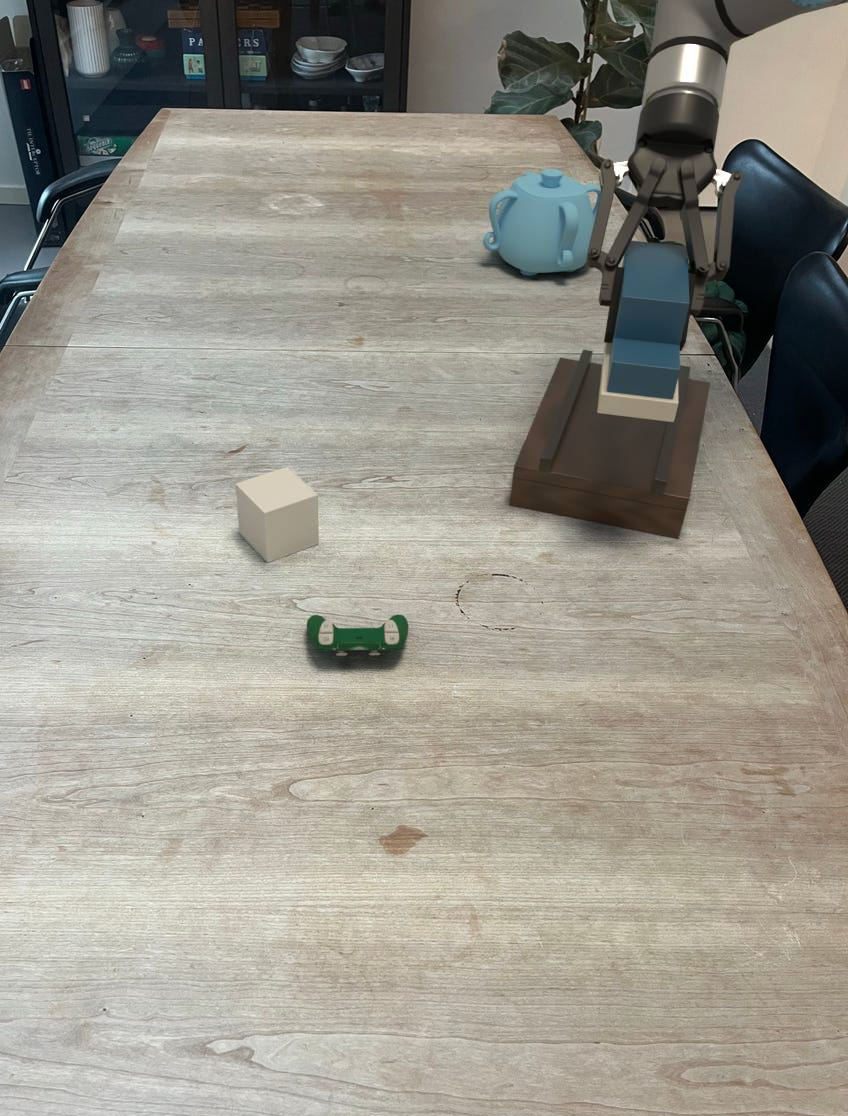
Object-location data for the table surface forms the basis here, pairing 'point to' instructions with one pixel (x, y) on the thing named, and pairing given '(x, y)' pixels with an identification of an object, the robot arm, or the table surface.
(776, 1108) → the table surface
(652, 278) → the trainer
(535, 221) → the decorative pot
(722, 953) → the table surface
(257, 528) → the beige cube
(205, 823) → the table surface
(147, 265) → the table surface
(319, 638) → the gaming controller
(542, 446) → the shoe shelf
